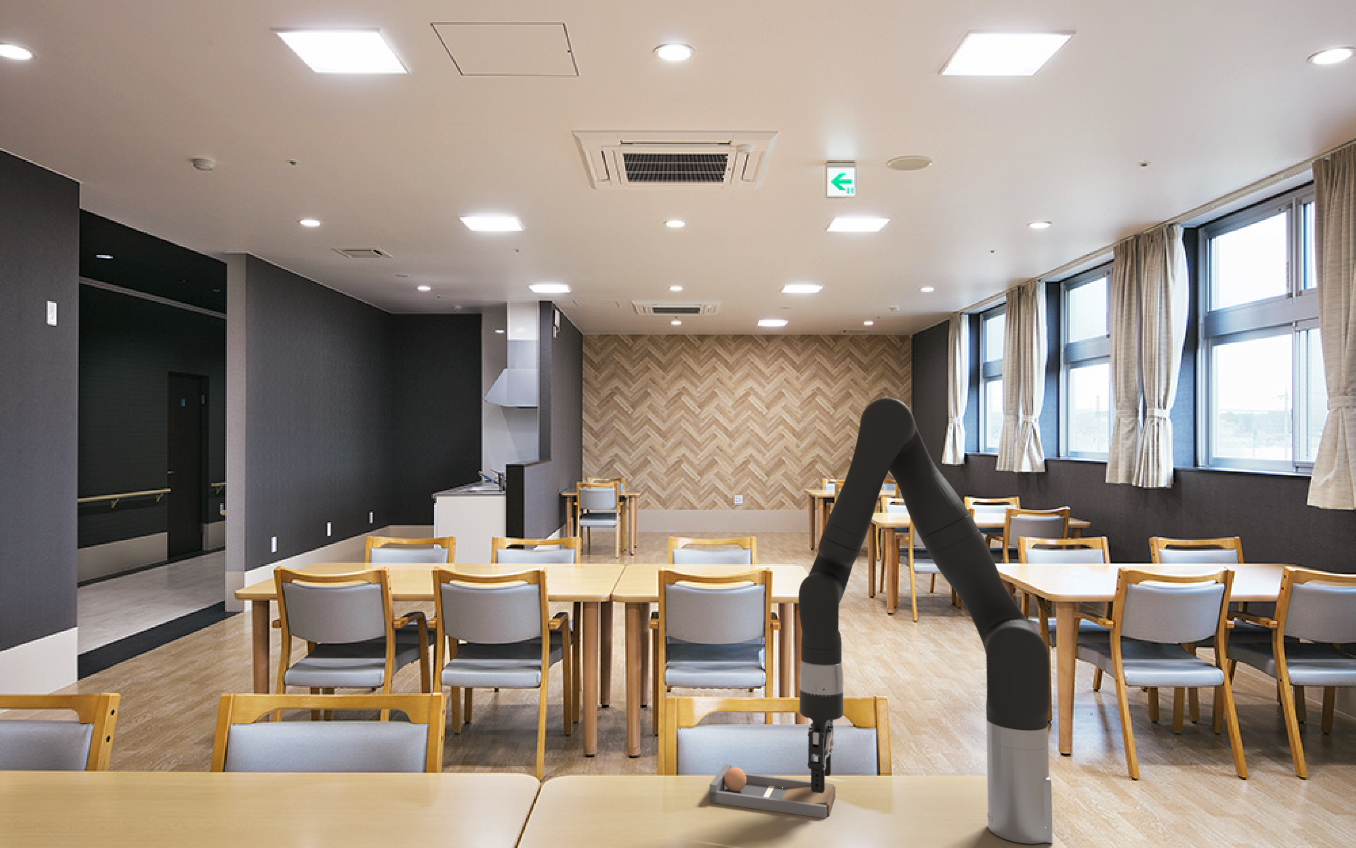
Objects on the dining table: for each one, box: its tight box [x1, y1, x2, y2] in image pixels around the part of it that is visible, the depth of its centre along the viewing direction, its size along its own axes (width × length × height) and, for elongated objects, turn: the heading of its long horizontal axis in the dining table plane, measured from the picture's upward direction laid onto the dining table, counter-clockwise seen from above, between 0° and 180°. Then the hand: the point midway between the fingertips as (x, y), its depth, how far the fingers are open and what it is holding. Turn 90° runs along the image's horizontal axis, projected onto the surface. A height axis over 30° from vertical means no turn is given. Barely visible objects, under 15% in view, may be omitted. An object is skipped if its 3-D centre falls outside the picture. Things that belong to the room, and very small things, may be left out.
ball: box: [724, 767, 747, 792], centre depth 143 cm, size 4×4×4 cm
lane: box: [709, 763, 835, 819], centre depth 141 cm, size 20×11×3 cm, turn 72°
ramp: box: [782, 783, 836, 817], centre depth 139 cm, size 9×9×3 cm
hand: (821, 783), depth 139 cm, fingers open, 8 cm apart
